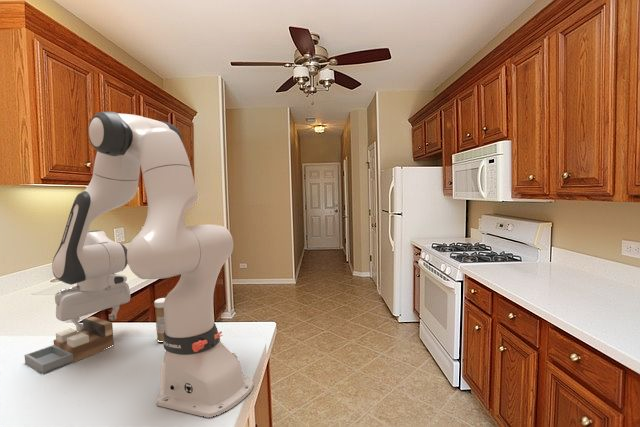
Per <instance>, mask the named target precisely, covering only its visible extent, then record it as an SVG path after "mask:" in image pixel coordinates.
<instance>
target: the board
mask: <svg viewBox="0 0 640 427" xmlns="http://www.w3.org/2000/svg"><path fill="white" fill-rule="evenodd" d="M80 333H84V334H87V335H89V342H87V343H85V344H82V345H79V346H77V347H71V346H69V345H67V341H65V342H60V341H58V340H56V338H55V339H53V345H55V346H57V347H60V348H62V349H64V350H66V351H68V352H70V353H72V354H73V361H74V362H73V363H76V362H78V361H81V360H83V359H85V358H88V357H90V356H92V355H96V354H98V353H100V351H101V352H103V351H105V350H104V349H106V348H108V347H110V346H112V345H114V346H115V343H114V342H115V341H114V333H113V334H111V335H108V336H106V337H100V336H97V335H95V334H92V333H90V332H87V331H84V330H82V331H79V332H78V331H77V334H80ZM108 349H109V348H108ZM102 350H103V351H102ZM106 350H107V349H106ZM97 352H98V353H97ZM95 353H96V354H95Z"/></svg>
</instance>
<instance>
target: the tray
mask: <svg viewBox="0 0 640 427" xmlns="http://www.w3.org/2000/svg"><path fill="white" fill-rule="evenodd" d="M72 363H75V362H74V361H73V354H72V353H70V352H68V351H66V350H64V349H62V348H60V347H57V346H55V345H54V344H52V345H50V346H47V347H45V348H41V349H38V350H35V351H33V352H30V353H26V354H24V364H25V365H27V366H28V367H31V368H32V369H34V370H35V371H37V372H39V373H41V374H42V375H45V374H48V373H50V372H53V371H55V370H57V369H60V368H63V367H66V366H68V365H70V364H72Z"/></svg>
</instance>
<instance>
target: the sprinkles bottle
mask: <svg viewBox="0 0 640 427" xmlns="http://www.w3.org/2000/svg"><path fill="white" fill-rule="evenodd" d="M165 298H166V297H161V298H157V299H155V300H154V302H153V304H154V308H155V327H156V328H155V329H156V338H157V339H156V341H157V340H159V341H163V337H164V331H165V319H164V301H165Z"/></svg>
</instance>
